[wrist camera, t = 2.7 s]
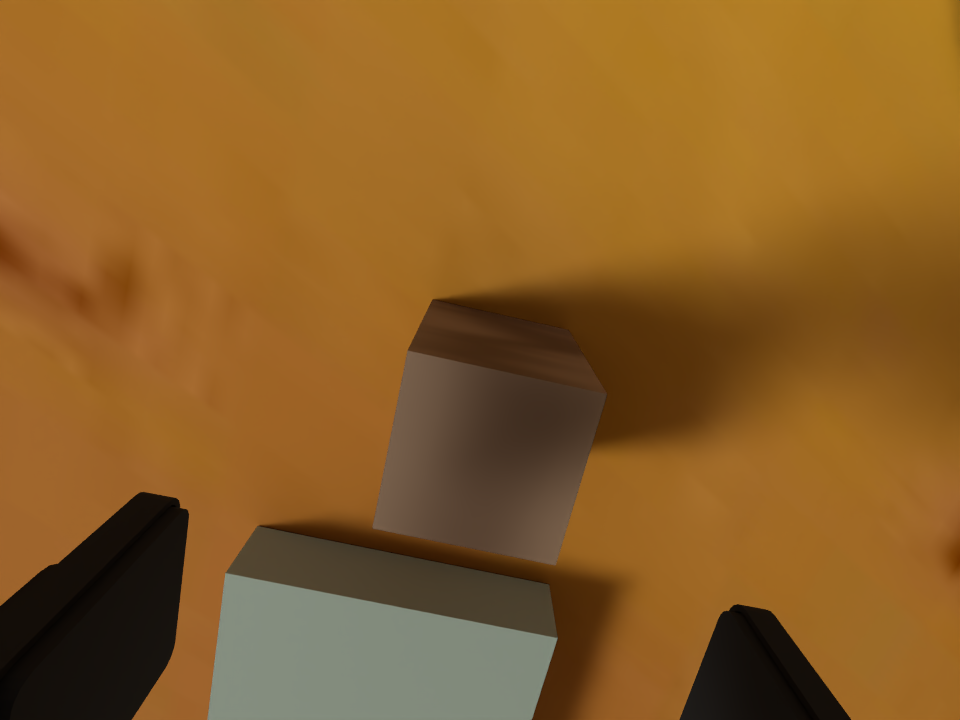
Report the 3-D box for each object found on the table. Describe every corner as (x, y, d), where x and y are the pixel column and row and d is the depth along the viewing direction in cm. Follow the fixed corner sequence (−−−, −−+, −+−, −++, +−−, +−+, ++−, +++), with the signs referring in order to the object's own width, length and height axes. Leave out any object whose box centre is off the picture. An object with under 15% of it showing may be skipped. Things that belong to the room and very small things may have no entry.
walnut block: (568, 329, 21) (607, 394, 14) (534, 453, 23) (555, 565, 16) (432, 299, 21) (407, 350, 14) (406, 426, 22) (372, 528, 16)
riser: (549, 584, 24) (557, 637, 21) (484, 799, 27) (483, 871, 24) (257, 526, 23) (225, 573, 21) (226, 752, 27) (195, 821, 24)
